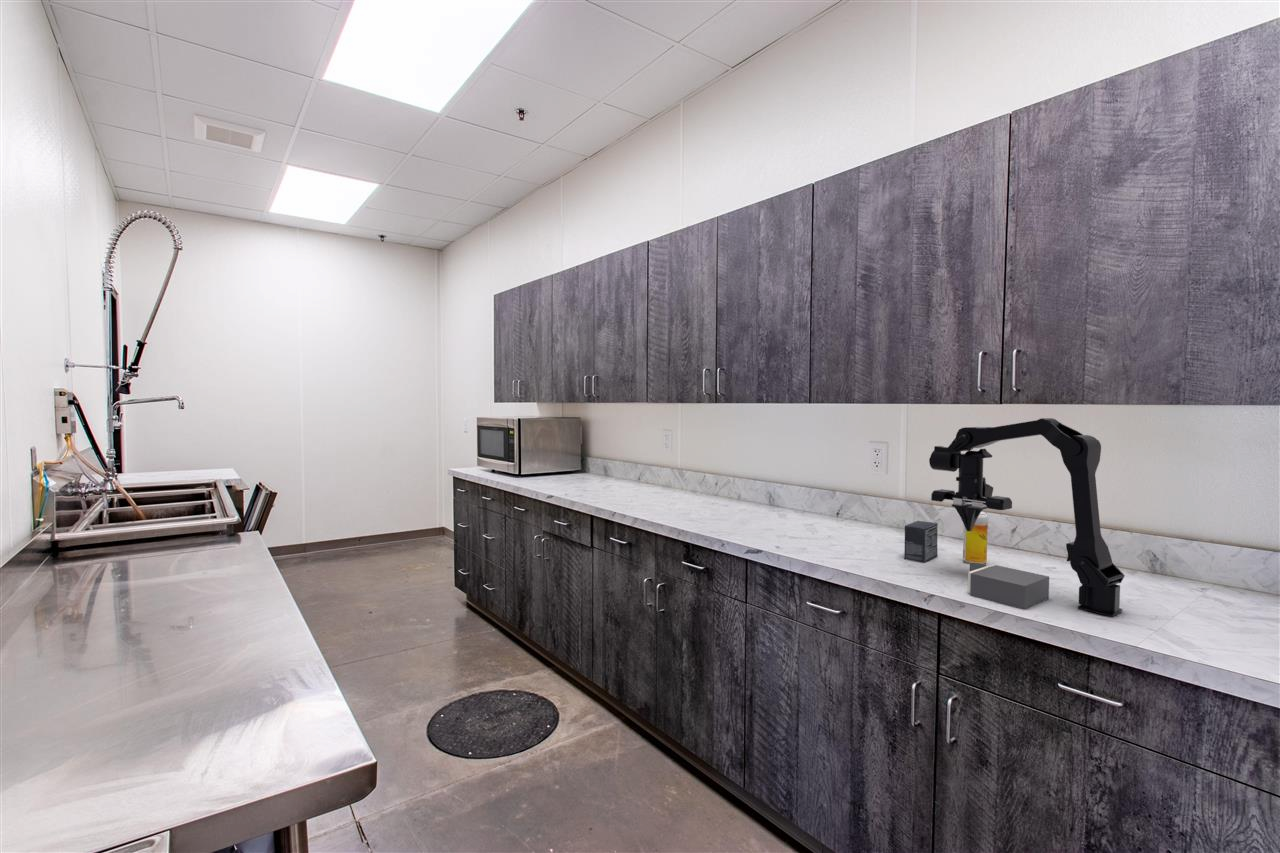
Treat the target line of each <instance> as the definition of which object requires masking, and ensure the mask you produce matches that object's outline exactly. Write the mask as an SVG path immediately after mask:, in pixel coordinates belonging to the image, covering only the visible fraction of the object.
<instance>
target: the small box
mask: <svg viewBox="0 0 1280 853" xmlns="http://www.w3.org/2000/svg"><path fill="white" fill-rule="evenodd" d="M938 527H939V526H938V522H931V521H922V520H916V521H914V522H911V523H908V524H906V525H904V554H903V555H904V560H906V559H907V560H908V561H912V562H918V563H924V564H926V563H928V562H930V561H931V560H933V559H935V558H937V557H938Z"/></svg>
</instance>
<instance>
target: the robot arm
mask: <svg viewBox="0 0 1280 853" xmlns="http://www.w3.org/2000/svg"><path fill="white" fill-rule="evenodd" d="M1037 436H1042V437H1044V438H1045V440H1046V441H1047V442H1049V443H1050V444H1051V445H1052V446H1053V447H1055V448H1056V449H1058V450H1059V452H1060V455H1061V459H1062V462H1063V464H1064V466H1065V468H1066V470H1067V471H1068V473H1069V475H1070V481H1071V482H1070V483H1071V493H1072V494H1071V496H1072V504H1073V515H1074V526H1075V538H1074V540H1073V541H1072V542H1068V543H1066V544H1065V547H1066V552H1067V558H1066V562H1069V564H1070V567H1071V569H1072V570H1073V571H1074V572H1076V575H1077V577H1078V579H1079V580H1078V581H1079V582H1080V583H1079V584H1081V585H1080V586H1078V604H1079V605H1078V606H1077V608H1078V610H1079V609H1080V610H1084V611H1086V612H1091V613H1095V614H1100V615H1104V616H1107V617H1115V616H1116V615H1118V614H1120V613H1121V612H1123V608H1120V605H1121V604H1120V601H1121V600H1120V598H1121V585H1120V584H1121V583H1122V582H1123V580H1124V578H1125V576H1126V575H1125V574H1124V573H1123V572H1122V570H1120V569H1119V568H1118V567H1117V566H1116V564H1114V563H1113V561H1112V560H1113V559H1112V556H1111V552H1110V550H1109V546H1108V544H1107V543H1106V542H1105V539H1104V538H1103V536H1102V532H1101V523H1100V512H1099V510H1100V509H1099V503H1098V501H1099V500H1098V491H1097V480H1096V472H1097V469H1098V468H1099V465H1100V464H1099V463H1100V461H1101V452H1102V444H1101V442H1100V440H1099V439H1097V438H1096V437H1094V436H1092V435H1088V434H1083V433H1082V432H1080V431H1078V430H1076V429H1074V428H1072V427H1069V426H1067V425H1065V424H1063V423H1062V422H1060V421H1059V420H1057V419H1056V418H1052V417H1045V418H1038V419H1037V420H1031V421H1024V422H1019V423H1018V422H1017V423H1013V424H1012V423H1011V424H1006V425H1005V424H1004V425H1000V426H994V427H993V426H971V427H970V426H969V427H968V426H967V427H966V426H965V427H961V428H959V429H958V431H957V432H956V435H955V438H953V441H951V443H950V444H949V445H948V446H944V445H943V446H942V445H938V446H937V445H935V446H933V447H934V448H933V449H934V450H933V451H932V452H931V455H930V457H929V466H930V468H931V470H934V471H935V470H936V471H945V472H954V473H955V472H956V471H958V476H956V478H955V481H956V482H958V487H957V488H958V490H957V491H956V492H955V490H951V489H943V488H942V489H935V490H933V491H932V492H931V494H930V496H931V498H930V499H931V500H930V501H931V502H933V501H934V502H939V503H942V502H944V501H945V500H948V501H949V500H950V501H952V502H953V503H951V507H954V508H955V510H956V512H957V514H958V515H959V517H960V519H961V521H962V522H963V527H964V526H965V528H966V530H967V531H972V529H973V527H974V524H975V522H976V520H977V518H978V516H979V514H980V513H981V511H982V512H983V510H986V509H990V510H997V511H1006V510H1010V509H1013V500H1012V499H1011V498H1010V497H1007V496H1001V495H1000V496H999V495H993V492H994V486H992V485H990V484H988V483H987V482H986V480H987V479H986V477H984V459H991V458H992V457H993V455H992V454H991V453H990V452H989V451H987V449H986V448H984V447H987V446H990V445H993V444H995V443H998V442H1000V441H1001V442H1002V441H1007V440H1014V439H1023V438H1028V437H1037ZM974 449H979V450H974ZM962 452H965V453H962Z"/></svg>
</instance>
